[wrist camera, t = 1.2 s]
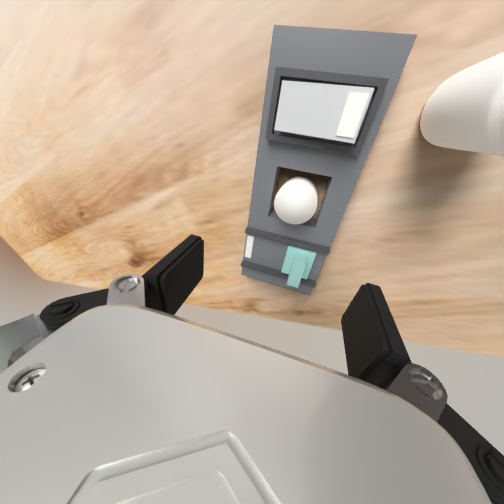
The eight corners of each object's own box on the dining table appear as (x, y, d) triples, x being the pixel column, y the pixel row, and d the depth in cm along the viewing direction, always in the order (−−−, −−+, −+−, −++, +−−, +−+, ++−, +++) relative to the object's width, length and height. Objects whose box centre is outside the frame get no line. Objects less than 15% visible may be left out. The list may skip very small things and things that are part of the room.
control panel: (404, 47, 19) (423, 28, 15) (310, 283, 35) (309, 300, 32) (279, 37, 21) (271, 18, 17) (246, 265, 37) (239, 278, 34)
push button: (323, 180, 25) (323, 187, 22) (311, 217, 27) (310, 228, 24) (284, 172, 26) (278, 178, 22) (276, 209, 28) (270, 219, 25)
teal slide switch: (316, 250, 28) (315, 266, 25) (306, 276, 31) (305, 293, 28) (288, 243, 29) (284, 258, 26) (281, 269, 31) (277, 285, 28)
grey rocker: (374, 90, 17) (374, 87, 16) (354, 143, 19) (354, 143, 18) (286, 83, 19) (281, 79, 18) (278, 130, 22) (273, 129, 21)
